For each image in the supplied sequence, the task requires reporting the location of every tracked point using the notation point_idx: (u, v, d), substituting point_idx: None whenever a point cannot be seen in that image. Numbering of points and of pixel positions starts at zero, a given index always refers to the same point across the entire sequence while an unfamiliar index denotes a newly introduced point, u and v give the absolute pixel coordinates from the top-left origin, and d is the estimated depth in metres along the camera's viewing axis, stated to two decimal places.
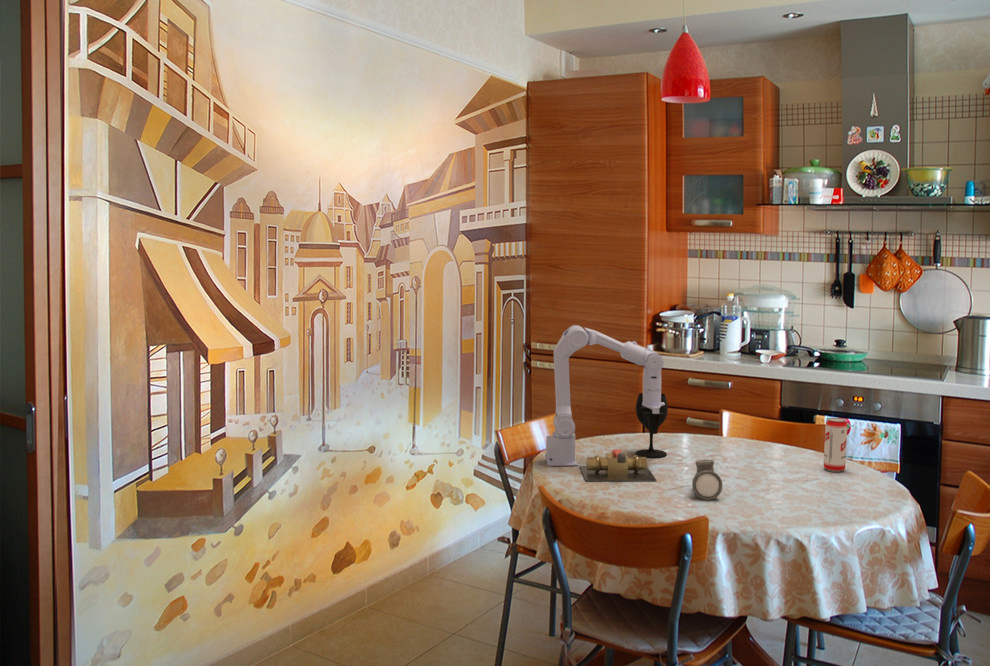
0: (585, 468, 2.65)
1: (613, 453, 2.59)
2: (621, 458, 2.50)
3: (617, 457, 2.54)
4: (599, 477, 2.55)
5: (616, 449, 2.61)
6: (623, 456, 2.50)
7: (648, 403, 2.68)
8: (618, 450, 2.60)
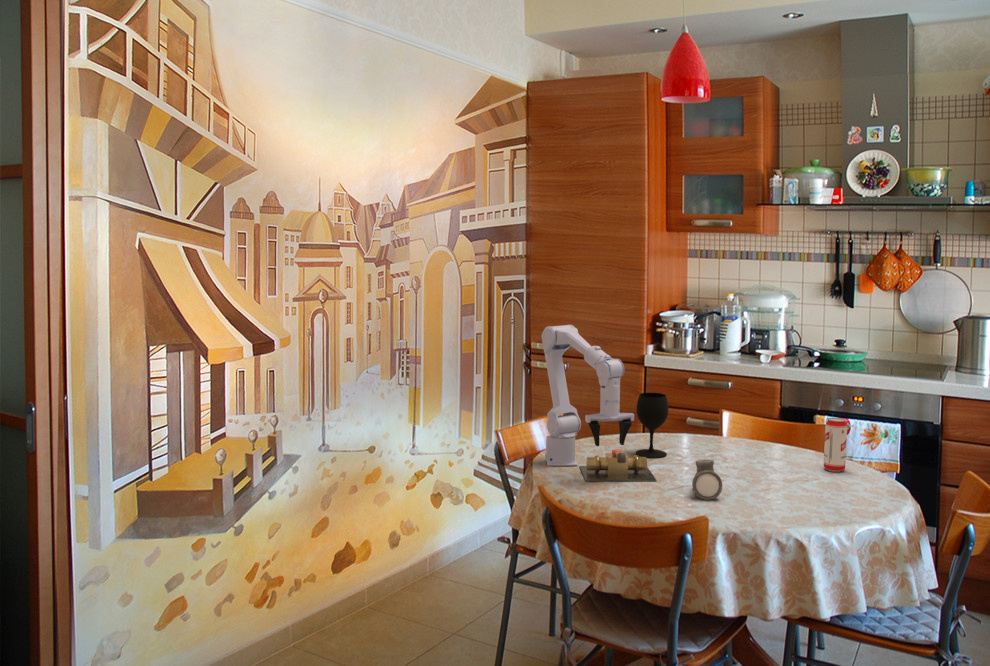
0: (585, 468, 2.65)
1: (613, 453, 2.59)
2: (621, 458, 2.50)
3: (617, 457, 2.54)
4: (599, 477, 2.55)
5: (616, 449, 2.61)
6: (623, 456, 2.50)
7: None
8: (618, 450, 2.60)
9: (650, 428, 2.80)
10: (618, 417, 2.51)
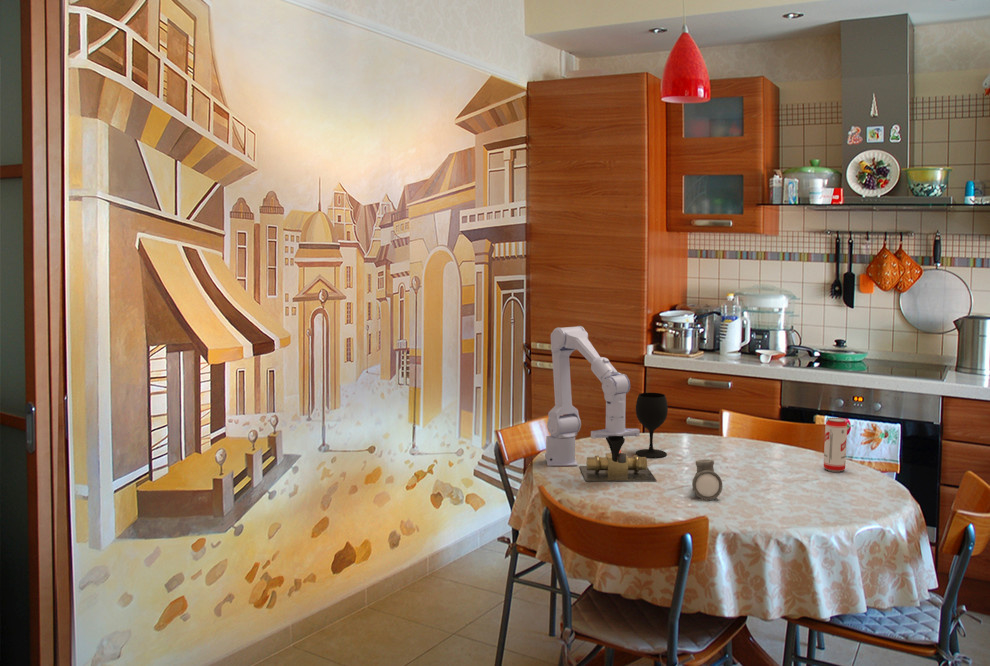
0: (585, 468, 2.65)
1: None
2: (621, 458, 2.50)
3: None
4: (599, 477, 2.55)
5: None
6: (623, 456, 2.50)
7: None
8: None
9: (649, 428, 2.80)
10: (624, 433, 2.49)
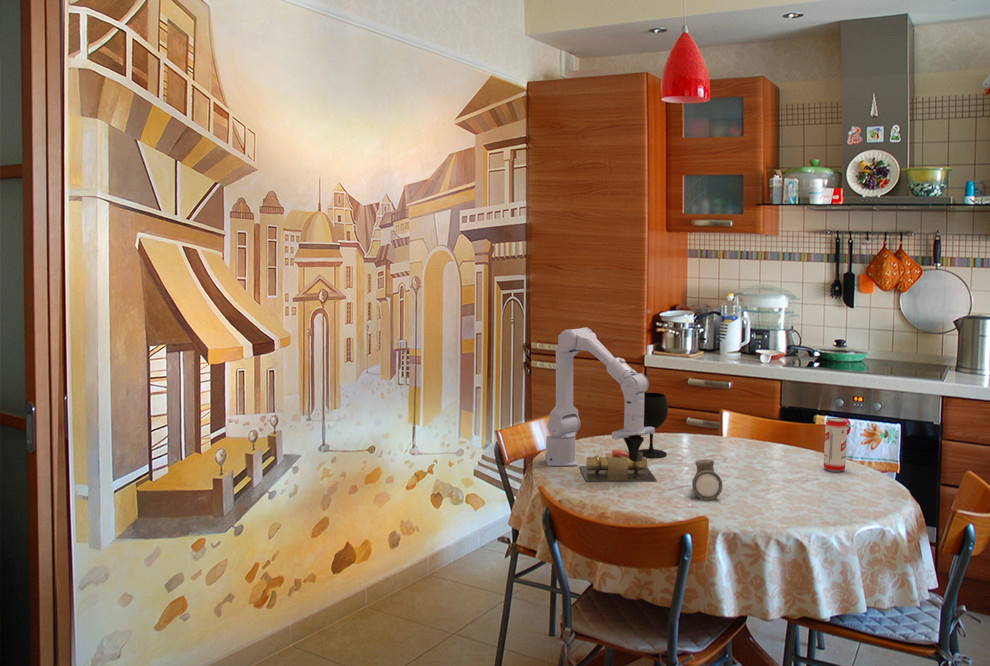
0: (585, 468, 2.65)
1: (615, 453, 2.59)
2: (640, 456, 2.52)
3: None
4: (599, 477, 2.55)
5: (614, 449, 2.61)
6: (642, 454, 2.52)
7: (624, 428, 2.52)
8: (617, 450, 2.60)
9: None
10: (644, 432, 2.50)
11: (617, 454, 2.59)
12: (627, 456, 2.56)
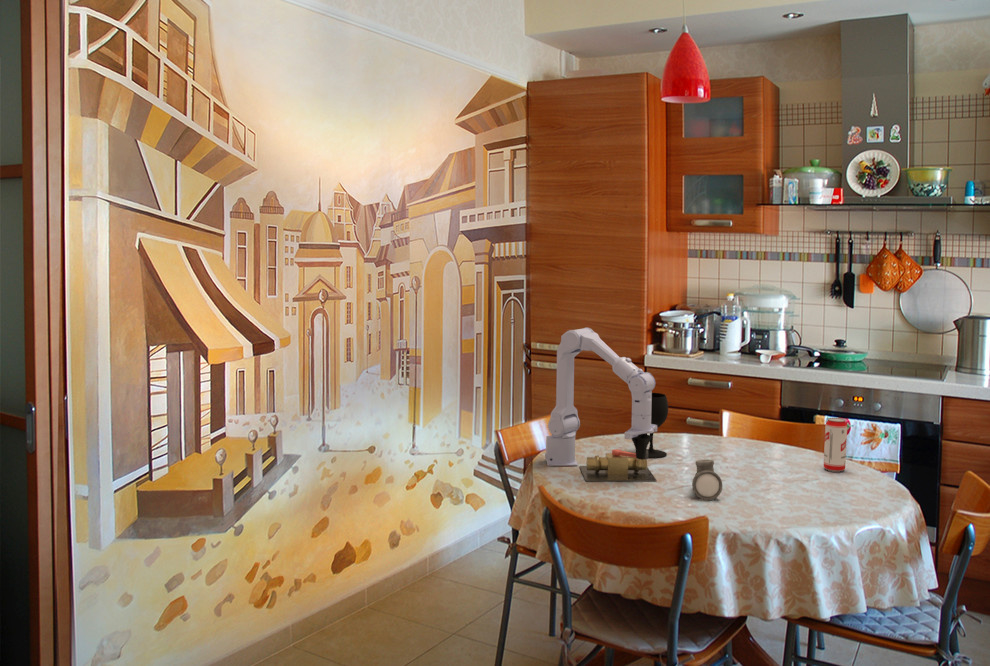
0: (585, 468, 2.65)
1: (617, 453, 2.59)
2: (647, 454, 2.54)
3: (633, 455, 2.56)
4: (599, 477, 2.55)
5: None
6: None
7: (632, 428, 2.52)
8: (617, 450, 2.61)
9: None
10: (651, 430, 2.53)
11: (618, 454, 2.59)
12: (631, 455, 2.57)
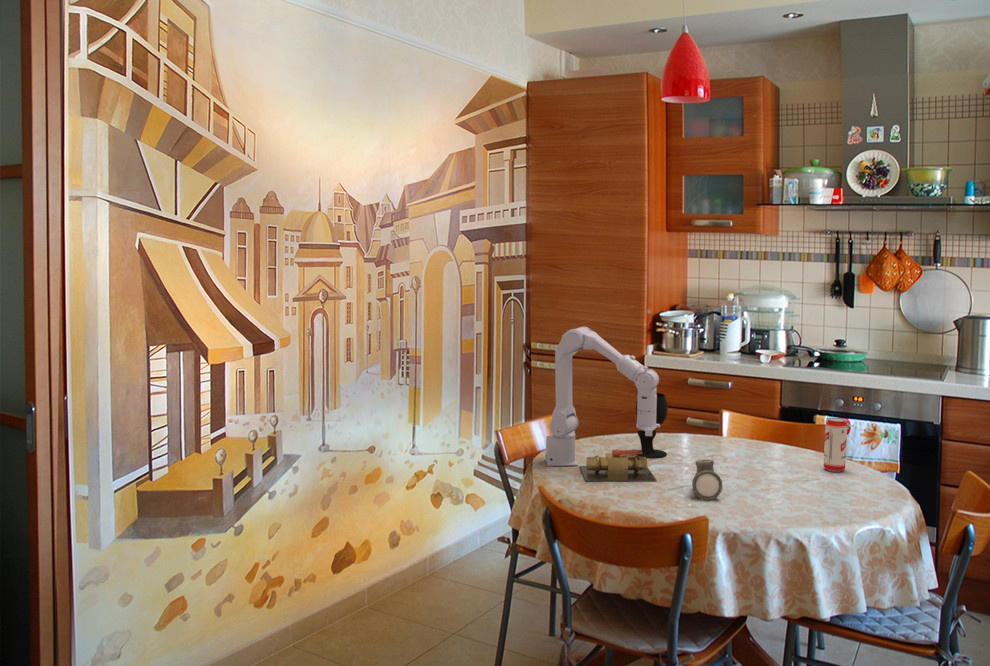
0: (585, 468, 2.65)
1: (620, 453, 2.59)
2: None
3: (636, 452, 2.60)
4: (599, 477, 2.55)
5: (612, 450, 2.60)
6: None
7: (642, 425, 2.56)
8: (616, 450, 2.61)
9: None
10: None
11: (621, 453, 2.59)
12: (634, 452, 2.60)
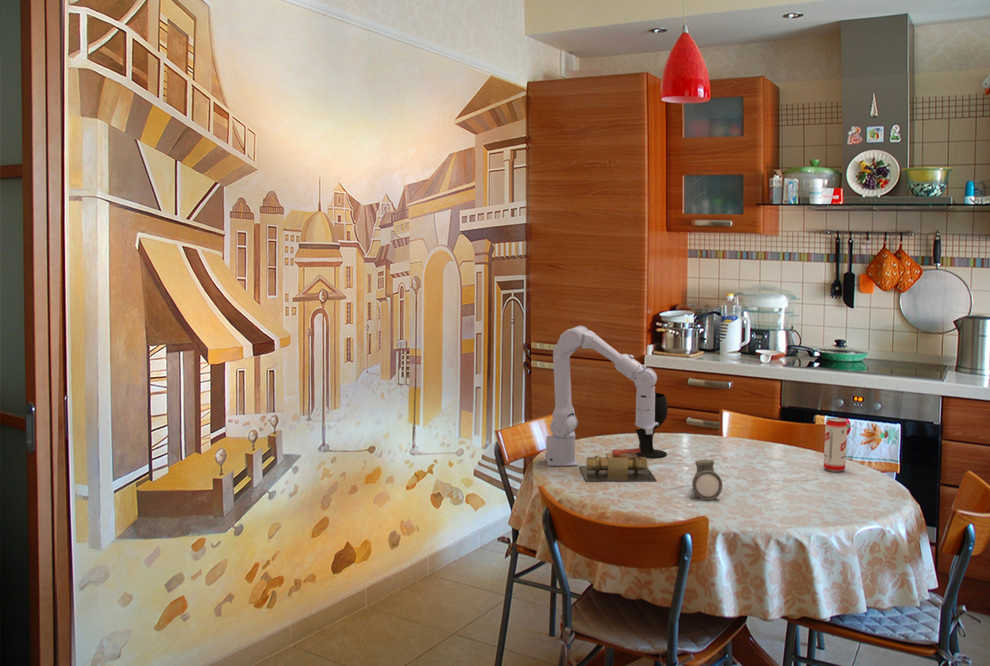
0: (585, 468, 2.65)
1: (620, 453, 2.59)
2: None
3: (634, 451, 2.61)
4: (599, 477, 2.55)
5: (612, 450, 2.60)
6: None
7: (641, 423, 2.58)
8: (615, 450, 2.61)
9: None
10: None
11: (621, 453, 2.60)
12: (633, 451, 2.61)
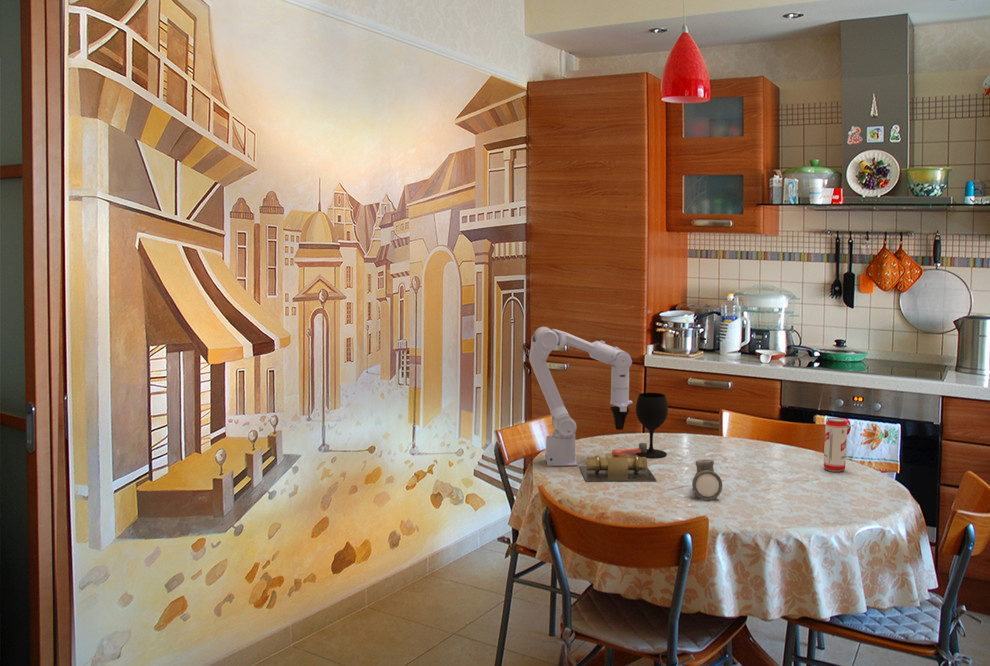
0: (585, 468, 2.65)
1: (620, 453, 2.59)
2: None
3: (634, 451, 2.61)
4: (599, 477, 2.55)
5: (612, 450, 2.60)
6: None
7: (616, 401, 2.70)
8: (615, 450, 2.61)
9: (649, 428, 2.80)
10: None
11: (621, 453, 2.60)
12: (632, 451, 2.61)
